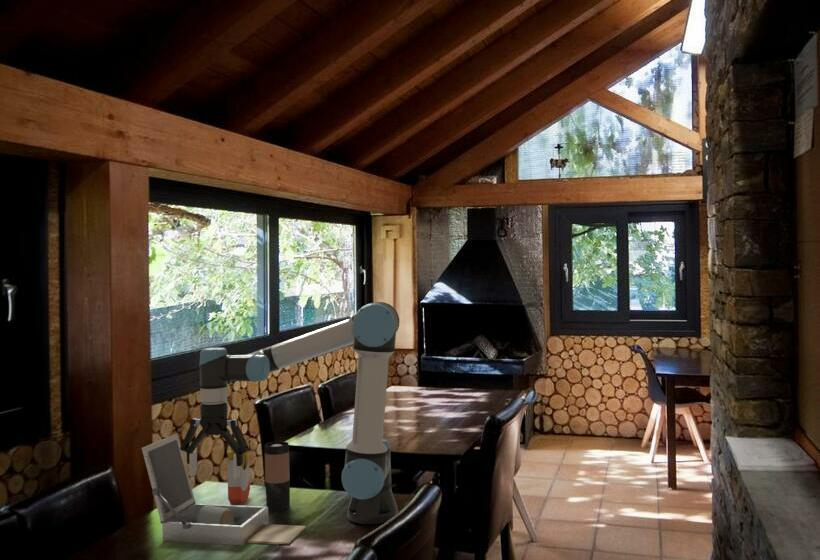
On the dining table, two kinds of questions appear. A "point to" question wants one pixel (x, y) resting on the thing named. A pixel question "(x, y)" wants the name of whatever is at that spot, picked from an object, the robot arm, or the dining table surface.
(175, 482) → the equipment case
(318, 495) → the dining table surface
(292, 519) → the dining table surface
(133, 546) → the dining table surface
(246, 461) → the french fries container
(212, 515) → the ceramic mug
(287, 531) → the cork pad
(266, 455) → the travel mug
